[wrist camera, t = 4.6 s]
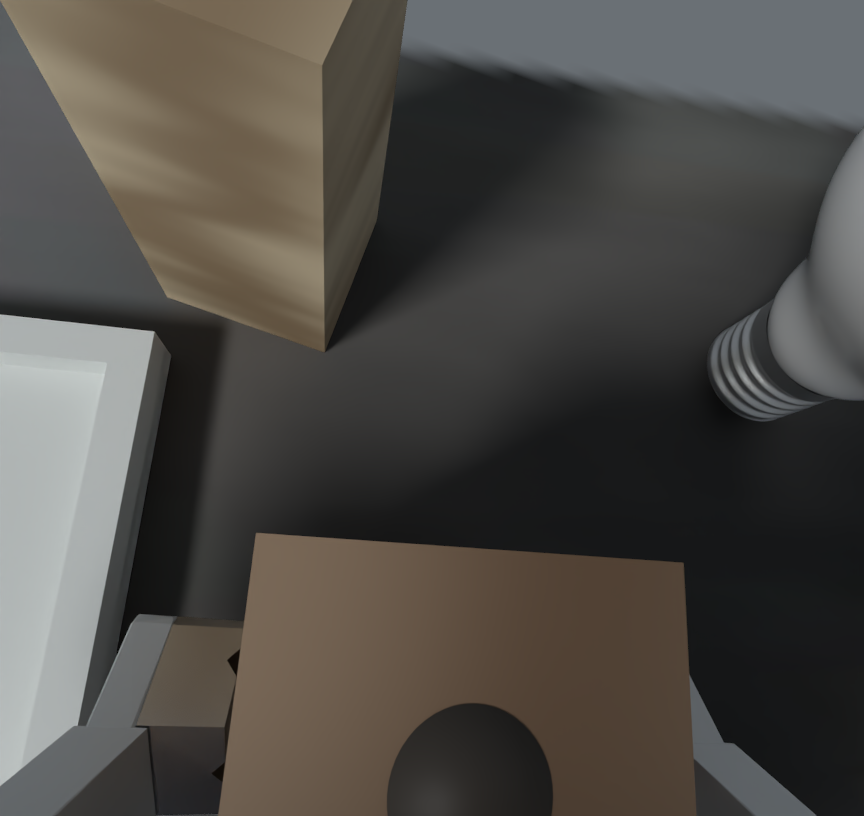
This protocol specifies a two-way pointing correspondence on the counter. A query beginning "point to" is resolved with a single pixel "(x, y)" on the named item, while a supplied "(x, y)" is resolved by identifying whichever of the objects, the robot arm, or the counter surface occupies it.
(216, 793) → the robot arm
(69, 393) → the tray
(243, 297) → the block
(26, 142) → the counter surface
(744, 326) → the lightbulb
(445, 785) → the block
